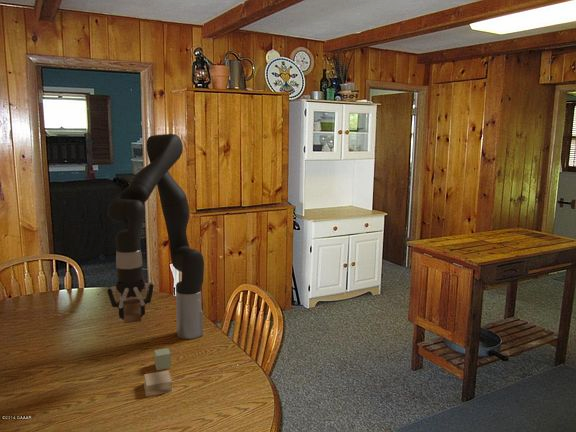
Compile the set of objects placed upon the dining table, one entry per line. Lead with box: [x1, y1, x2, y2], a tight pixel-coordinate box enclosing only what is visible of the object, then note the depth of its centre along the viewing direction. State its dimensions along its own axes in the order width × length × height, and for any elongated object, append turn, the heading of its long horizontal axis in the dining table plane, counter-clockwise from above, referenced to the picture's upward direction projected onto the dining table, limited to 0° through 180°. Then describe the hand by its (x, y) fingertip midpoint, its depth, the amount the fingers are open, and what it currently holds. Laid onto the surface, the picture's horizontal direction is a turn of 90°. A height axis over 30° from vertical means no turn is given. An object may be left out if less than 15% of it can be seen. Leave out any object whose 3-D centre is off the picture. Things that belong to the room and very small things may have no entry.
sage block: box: [154, 347, 172, 371], centre depth 155 cm, size 4×4×6 cm
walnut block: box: [123, 297, 142, 324], centre depth 150 cm, size 5×5×6 cm
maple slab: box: [143, 370, 173, 396], centre depth 142 cm, size 7×7×3 cm
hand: (132, 317), depth 150 cm, fingers closed on walnut block, 5 cm apart
